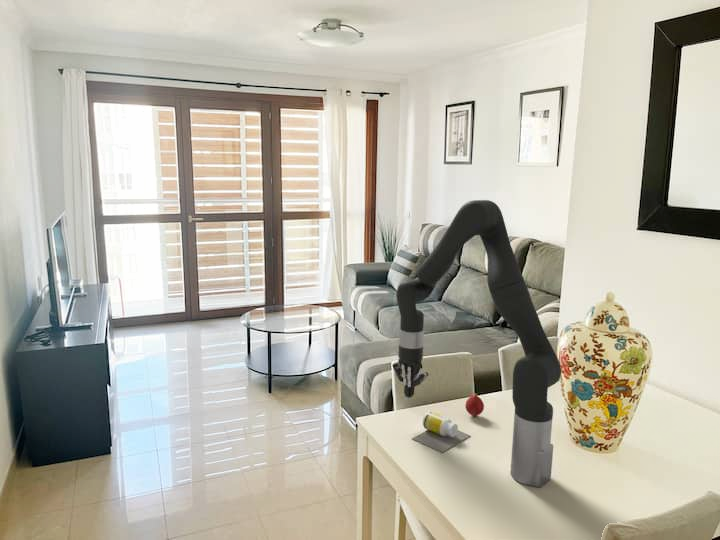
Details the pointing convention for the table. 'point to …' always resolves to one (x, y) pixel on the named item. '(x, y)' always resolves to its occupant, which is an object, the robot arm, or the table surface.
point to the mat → (440, 440)
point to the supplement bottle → (439, 424)
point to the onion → (474, 405)
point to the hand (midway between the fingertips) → (408, 396)
